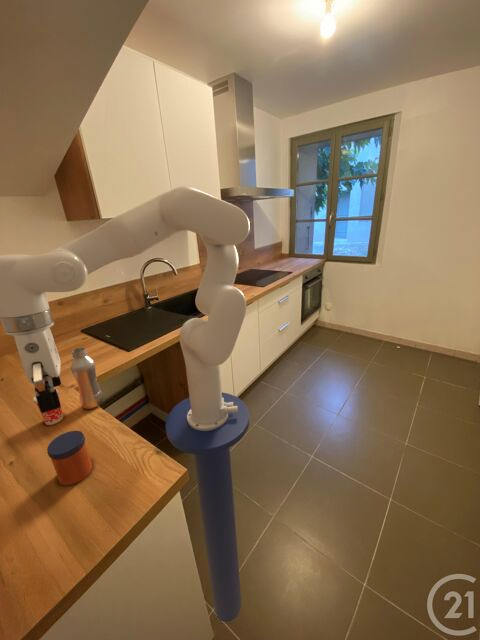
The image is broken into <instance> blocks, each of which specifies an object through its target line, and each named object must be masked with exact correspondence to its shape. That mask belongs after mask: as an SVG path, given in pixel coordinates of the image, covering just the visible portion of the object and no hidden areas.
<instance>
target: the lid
mask: <svg viewBox="0 0 480 640" xmlns="http://www.w3.org/2000/svg"><path fill="white" fill-rule="evenodd" d="M84 442H85V443H86V437H85V435H84V433H83V432H82V431H80V430H70V431H67V432H64V433H62V434H60V435H58V436H56V437H55V438H54V439H52V440H51V441H50V442H49V444H48V446H47V449H46V450H47V452H46V453H47V455H48V457H49V458H50V459H51V458H52V459H63V458H66V457H69V456H71V455H73V454H74V453H76V452H77V451H78V450H80V449H81V448H82V446H83V445H84Z"/></svg>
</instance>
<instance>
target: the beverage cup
mask: <svg viewBox="0 0 480 640" xmlns="http://www.w3.org/2000/svg"><path fill="white" fill-rule="evenodd" d="M55 389H56V391H57V394H58V398H59V401H60V402H61V400H60V396H59V394H60V392H59V389H58V388H55ZM32 400H33V402H34V404H36V406H37V408H38V410H39V413H40V414H41V417H42V419H43V421H44V423H45V425H47V426H51V425H55V424H57V423H59V422H61V421H62V420H63V418H64V412H63V409H62V405H61V406H60V408H57V409H54V410H51V411H47V412H44V413H42V412H41V411H40V408H39V405H38V402H37V399H36V395H35V396H34V397H33V398H32Z"/></svg>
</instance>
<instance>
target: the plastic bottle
mask: <svg viewBox="0 0 480 640" xmlns="http://www.w3.org/2000/svg"><path fill="white" fill-rule="evenodd" d="M71 356H72V358H73V360H72V362H71V365H70V371H71V372H72V375H73V377H74V379H75V381H76V384H77V386H78V393H79V394H78V395H79V404H80V405H81V407H82V408H83V409H87V410H91V409H94V408H97V407H99V406H100V405H101V404H102V403H103V400H104V394H103V391H102V389H101V388H100V385H99V383H98V378H97V370H96V361H95V360H94V359H93V357H90V356H89V355H88V352H87V349H86V348H85V347H78V348H77V347H76V348H75V349H72V350H71ZM96 405H97V406H96Z"/></svg>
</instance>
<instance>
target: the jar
mask: <svg viewBox="0 0 480 640" xmlns="http://www.w3.org/2000/svg"><path fill="white" fill-rule="evenodd" d="M50 461H51V463H52V465H53V468H54V471H55V474H56V477H57V479H58V482H59V484H61V485H62V486H72V485H75V484H77V483H79V482H81V481H83V480H84V479H85V478H87V476H89V475H90V473H91V471H92V469H93V463H92V459H91V457H90V453H89V450H88V446H87V443H86V441H85V442H84V445H83V446H82V448H81V449H80V450H78V451H77V452H76V453H74V454H73V455H71V456H69V457H66V458H63V459H52V458H50Z"/></svg>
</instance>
